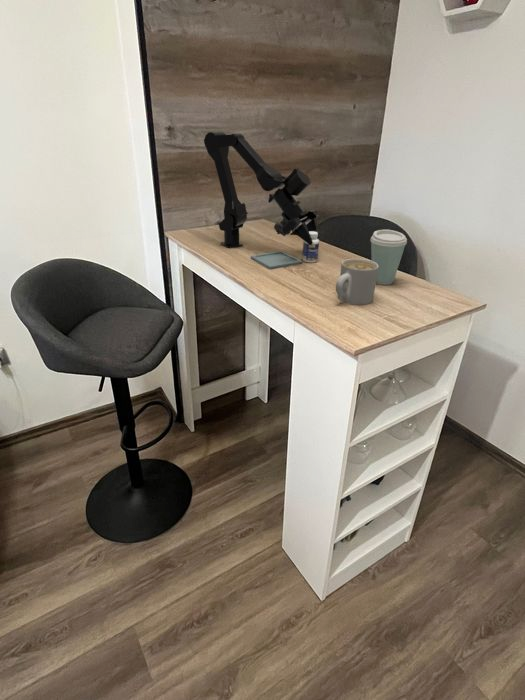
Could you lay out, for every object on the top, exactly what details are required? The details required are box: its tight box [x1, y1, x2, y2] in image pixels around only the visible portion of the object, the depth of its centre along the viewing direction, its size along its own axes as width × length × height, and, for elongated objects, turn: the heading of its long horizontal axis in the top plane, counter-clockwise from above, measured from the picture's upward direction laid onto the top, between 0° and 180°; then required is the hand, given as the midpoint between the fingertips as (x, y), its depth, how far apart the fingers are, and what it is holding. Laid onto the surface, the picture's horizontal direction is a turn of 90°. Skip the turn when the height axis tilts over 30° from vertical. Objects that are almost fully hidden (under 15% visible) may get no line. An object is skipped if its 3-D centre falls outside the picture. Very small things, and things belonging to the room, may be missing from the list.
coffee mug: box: [335, 258, 379, 306], centre depth 117 cm, size 13×10×10 cm
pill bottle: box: [301, 231, 320, 263], centre depth 146 cm, size 5×5×10 cm
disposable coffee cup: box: [369, 229, 408, 286], centre depth 129 cm, size 11×11×15 cm
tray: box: [250, 250, 303, 270], centre depth 147 cm, size 13×13×1 cm
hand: (315, 242), depth 145 cm, fingers closed on pill bottle, 5 cm apart
